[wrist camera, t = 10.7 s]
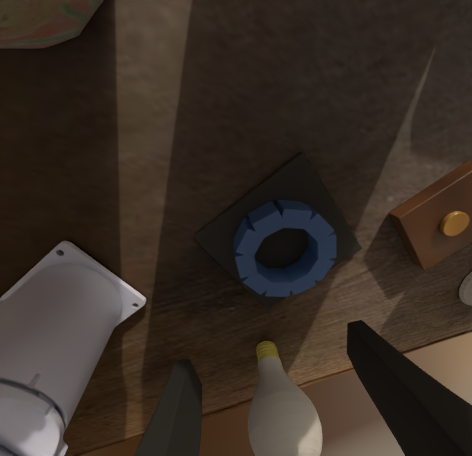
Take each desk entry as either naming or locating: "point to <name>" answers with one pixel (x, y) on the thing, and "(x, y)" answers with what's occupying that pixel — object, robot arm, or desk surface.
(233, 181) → the desk surface
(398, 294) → the desk surface
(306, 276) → the ring
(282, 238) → the mat
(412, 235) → the platform
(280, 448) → the light bulb
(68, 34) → the potted plant
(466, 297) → the figurine
